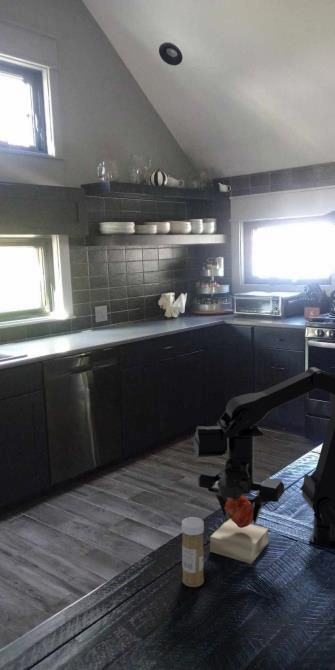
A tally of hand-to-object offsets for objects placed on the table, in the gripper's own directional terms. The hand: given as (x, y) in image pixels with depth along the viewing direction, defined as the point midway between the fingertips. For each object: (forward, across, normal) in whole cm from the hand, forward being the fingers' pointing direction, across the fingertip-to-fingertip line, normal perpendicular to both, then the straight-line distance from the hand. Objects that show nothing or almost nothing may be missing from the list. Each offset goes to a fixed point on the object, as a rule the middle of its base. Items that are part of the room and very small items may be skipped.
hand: (240, 519), depth 130 cm
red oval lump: (+2, 0, 0) cm, 2 cm away
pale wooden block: (+7, 0, 0) cm, 7 cm away
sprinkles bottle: (+7, -4, -17) cm, 19 cm away
